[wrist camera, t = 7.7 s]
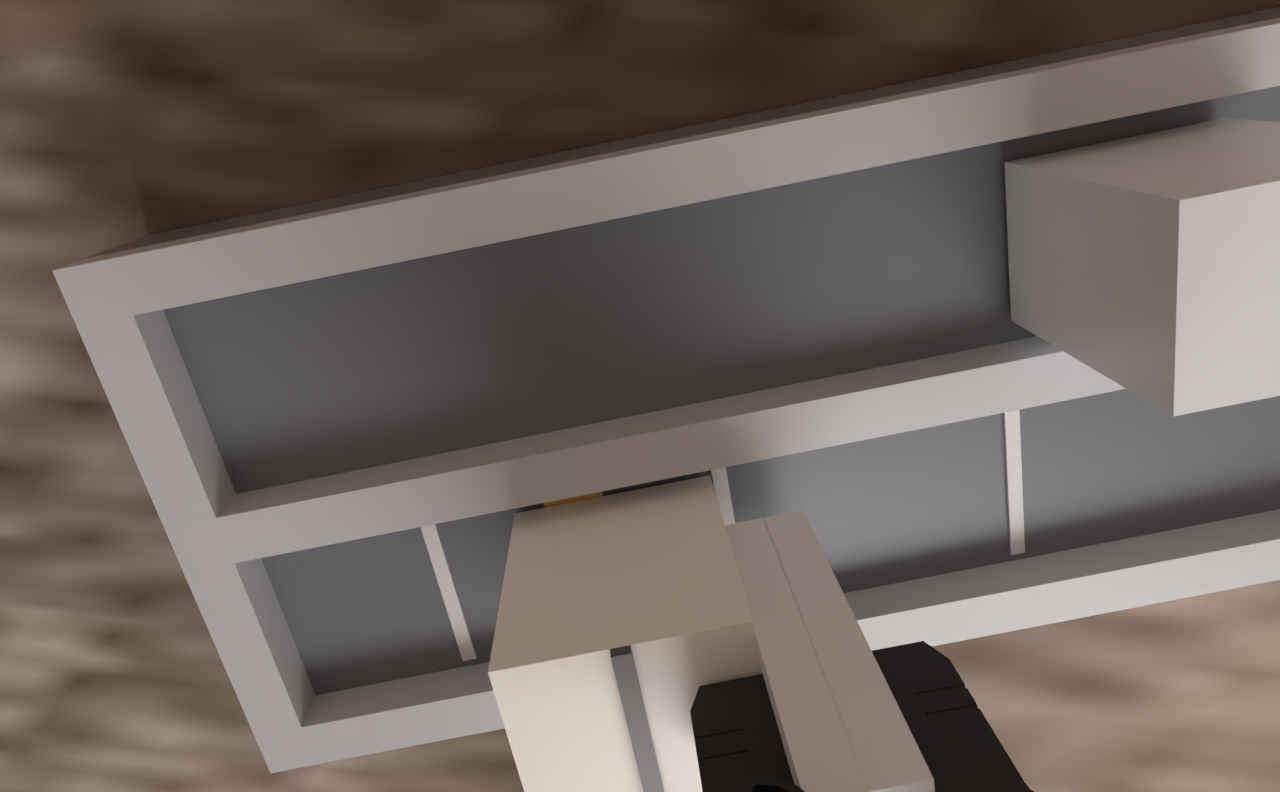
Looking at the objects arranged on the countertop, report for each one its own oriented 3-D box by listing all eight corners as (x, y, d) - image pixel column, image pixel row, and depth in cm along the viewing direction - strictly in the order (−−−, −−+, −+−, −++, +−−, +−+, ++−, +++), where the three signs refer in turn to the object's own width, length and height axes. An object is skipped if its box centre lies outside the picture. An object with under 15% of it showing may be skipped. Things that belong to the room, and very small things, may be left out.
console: (317, 670, 22) (270, 773, 19) (147, 235, 18) (52, 270, 15) (1399, 461, 21) (1540, 529, 18) (1463, -31, 18) (1657, -54, 14)
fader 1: (548, 635, 19) (533, 834, 14) (514, 513, 18) (486, 681, 13) (732, 600, 19) (782, 786, 14) (710, 475, 18) (755, 629, 13)
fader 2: (1011, 320, 17) (1182, 421, 12) (1004, 162, 16) (1188, 202, 11) (1218, 279, 17) (1475, 364, 12) (1224, 118, 16) (1509, 138, 11)
